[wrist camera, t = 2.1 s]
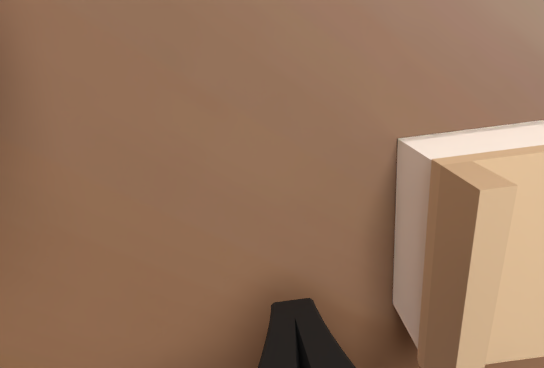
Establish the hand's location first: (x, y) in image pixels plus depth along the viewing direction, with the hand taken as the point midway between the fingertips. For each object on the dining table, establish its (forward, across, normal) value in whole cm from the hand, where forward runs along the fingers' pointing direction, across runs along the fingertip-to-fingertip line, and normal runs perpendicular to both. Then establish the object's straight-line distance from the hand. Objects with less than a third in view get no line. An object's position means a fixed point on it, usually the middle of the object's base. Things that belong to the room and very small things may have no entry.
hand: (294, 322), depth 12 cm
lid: (+2, -11, 0) cm, 11 cm away
